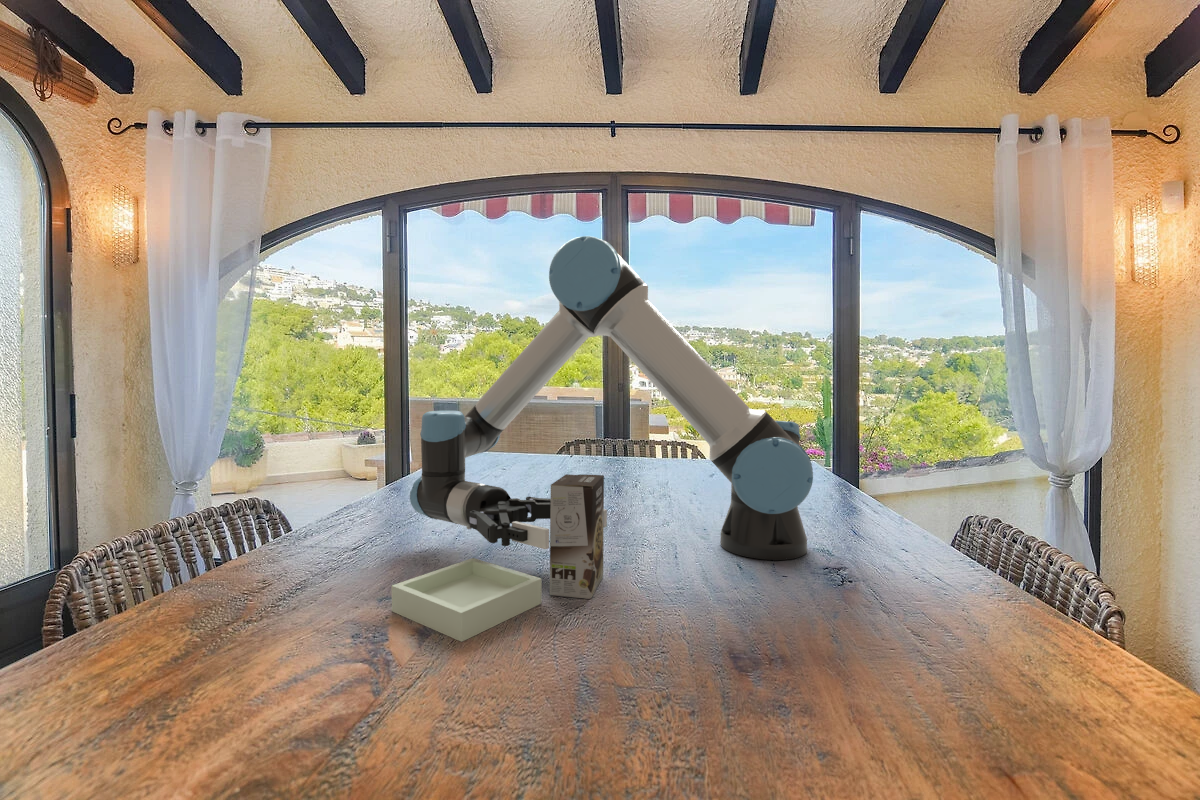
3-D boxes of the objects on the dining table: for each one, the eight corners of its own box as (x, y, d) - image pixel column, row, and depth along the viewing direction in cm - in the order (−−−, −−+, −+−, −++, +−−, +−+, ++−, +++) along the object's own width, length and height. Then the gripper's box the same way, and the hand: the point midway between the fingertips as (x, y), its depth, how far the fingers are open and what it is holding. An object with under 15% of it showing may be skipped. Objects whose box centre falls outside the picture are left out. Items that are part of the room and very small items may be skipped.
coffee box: (592, 600, 81) (593, 486, 80) (548, 596, 83) (548, 483, 82) (604, 576, 90) (605, 474, 89) (564, 573, 91) (565, 472, 91)
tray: (541, 603, 80) (541, 578, 80) (461, 641, 69) (461, 612, 69) (473, 580, 88) (473, 557, 88) (391, 611, 77) (391, 585, 77)
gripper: (531, 513, 108) (625, 533, 96) (418, 546, 88) (518, 577, 76) (531, 473, 108) (626, 488, 95) (417, 497, 88) (517, 520, 75)
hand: (578, 528), depth 85 cm, fingers open, 13 cm apart
